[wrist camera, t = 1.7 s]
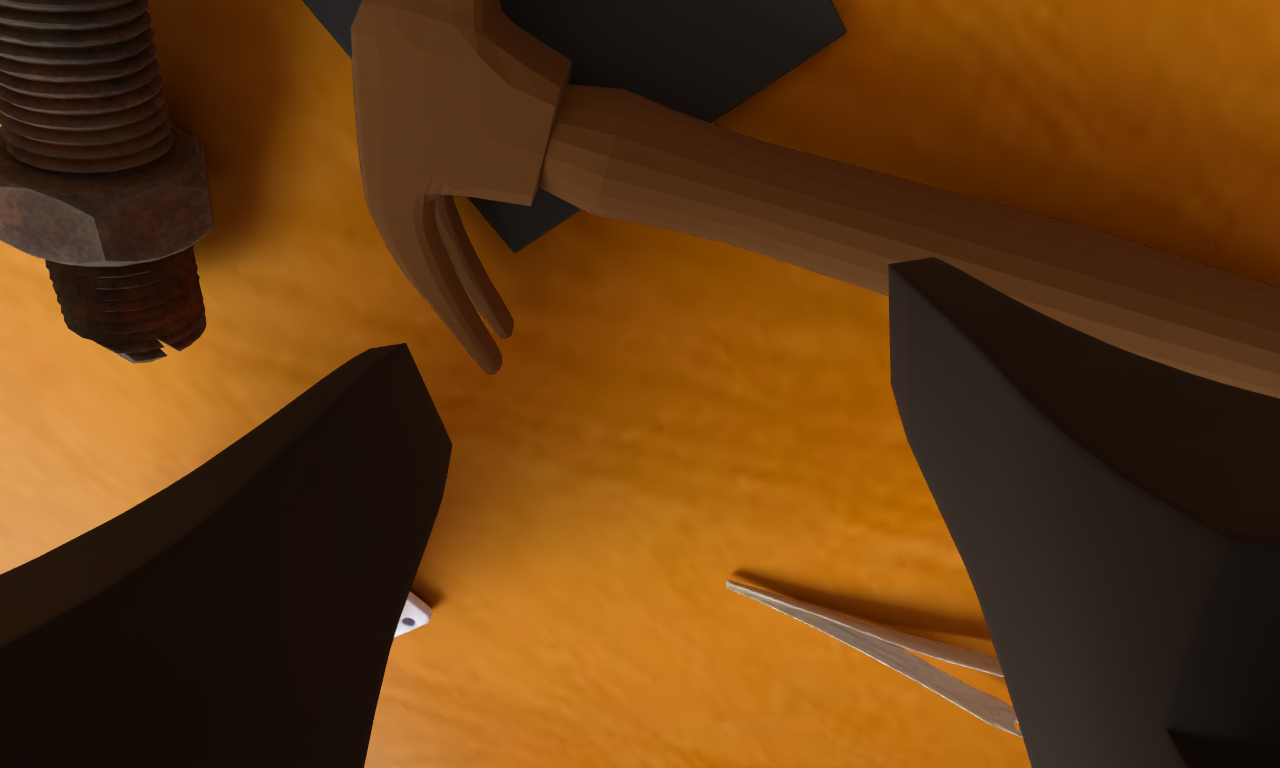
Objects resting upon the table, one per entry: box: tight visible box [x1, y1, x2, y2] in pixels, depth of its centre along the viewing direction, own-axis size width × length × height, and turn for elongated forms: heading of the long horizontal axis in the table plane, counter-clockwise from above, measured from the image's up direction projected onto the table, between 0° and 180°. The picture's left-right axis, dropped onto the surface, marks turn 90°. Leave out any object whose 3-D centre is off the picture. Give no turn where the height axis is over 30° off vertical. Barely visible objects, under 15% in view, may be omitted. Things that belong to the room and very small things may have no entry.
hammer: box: [350, 0, 1280, 399], centre depth 19 cm, size 12×3×30 cm
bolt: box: [0, 0, 214, 363], centre depth 16 cm, size 6×5×15 cm
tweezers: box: [726, 580, 1023, 738], centre depth 30 cm, size 17×5×2 cm, turn 66°
